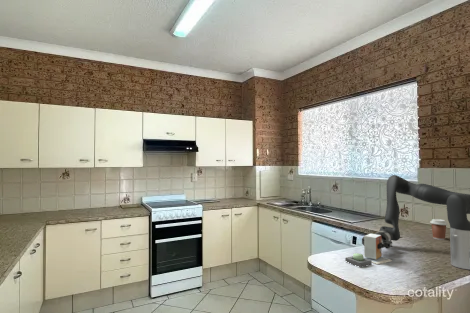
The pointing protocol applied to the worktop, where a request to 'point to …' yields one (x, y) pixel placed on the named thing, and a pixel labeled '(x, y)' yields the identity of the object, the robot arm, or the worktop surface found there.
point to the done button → (358, 257)
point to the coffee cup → (438, 228)
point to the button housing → (359, 263)
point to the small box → (372, 246)
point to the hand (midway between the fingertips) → (371, 245)
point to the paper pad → (379, 260)
